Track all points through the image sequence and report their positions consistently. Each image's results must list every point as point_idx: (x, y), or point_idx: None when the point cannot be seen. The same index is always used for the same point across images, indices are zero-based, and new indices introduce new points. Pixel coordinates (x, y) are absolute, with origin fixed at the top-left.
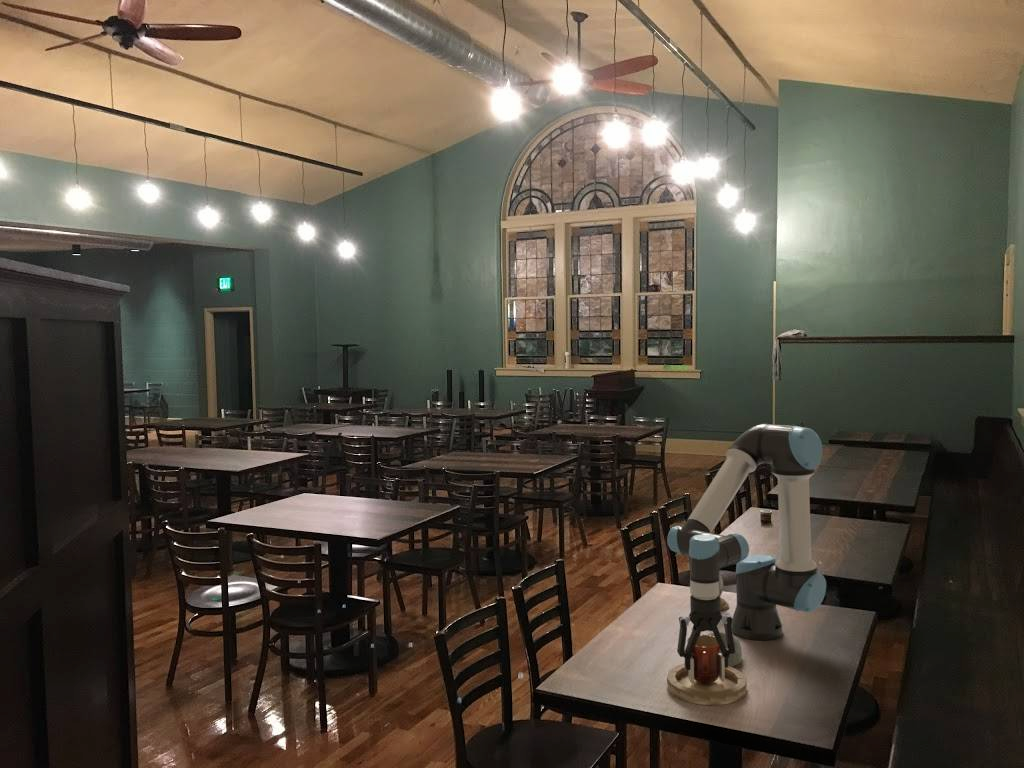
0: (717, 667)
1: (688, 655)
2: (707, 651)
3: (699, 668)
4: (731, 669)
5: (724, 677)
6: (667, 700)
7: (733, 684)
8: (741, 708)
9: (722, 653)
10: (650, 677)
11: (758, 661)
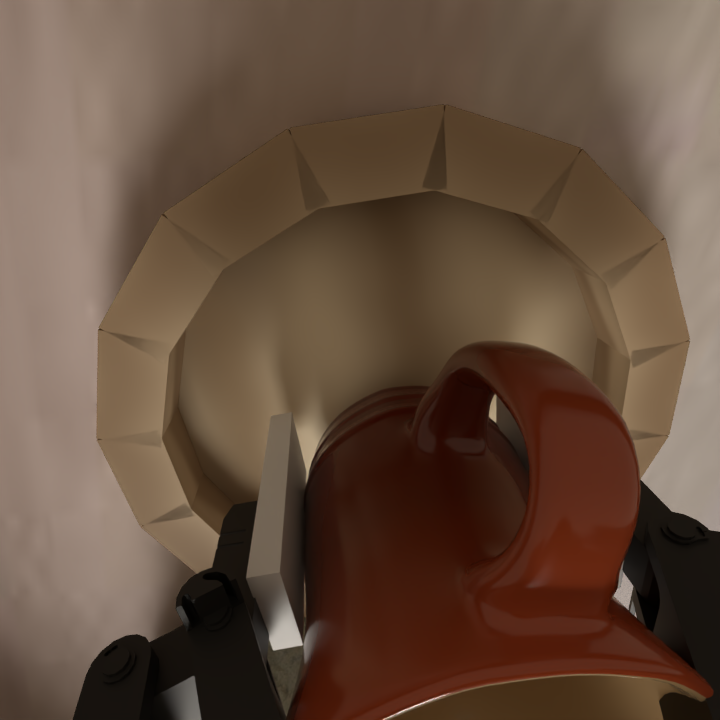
0: (324, 489)
1: (694, 544)
2: (527, 585)
3: (498, 451)
4: (211, 553)
5: (270, 433)
6: (697, 208)
7: (212, 421)
8: (163, 58)
9: (261, 637)
10: (665, 492)
11: (76, 676)
